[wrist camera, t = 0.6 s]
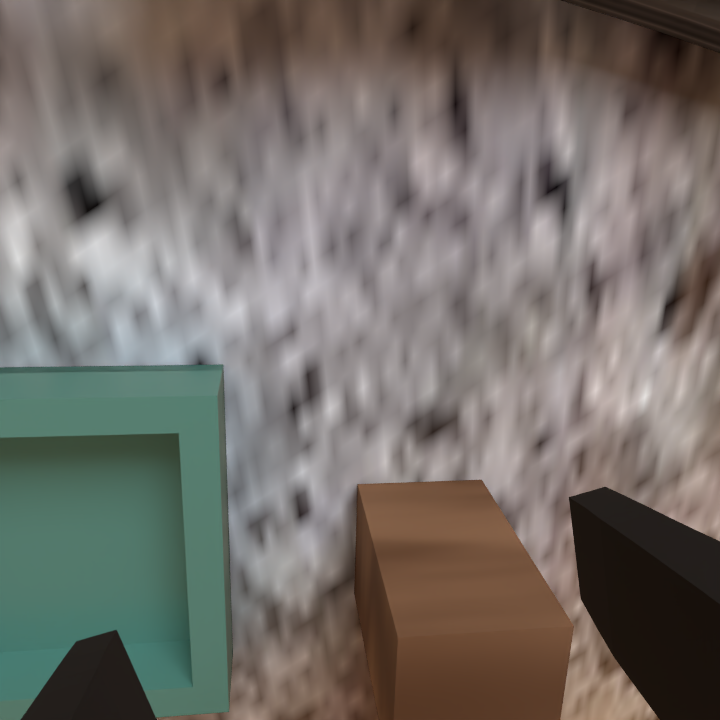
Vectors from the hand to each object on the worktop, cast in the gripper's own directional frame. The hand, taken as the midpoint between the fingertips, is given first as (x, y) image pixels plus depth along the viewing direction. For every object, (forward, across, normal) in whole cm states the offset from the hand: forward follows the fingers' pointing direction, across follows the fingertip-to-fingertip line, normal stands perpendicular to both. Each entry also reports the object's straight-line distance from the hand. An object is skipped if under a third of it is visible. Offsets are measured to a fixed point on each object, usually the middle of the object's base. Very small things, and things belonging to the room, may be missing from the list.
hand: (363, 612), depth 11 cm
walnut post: (+10, -2, +6) cm, 12 cm away
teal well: (+10, +8, +3) cm, 13 cm away
